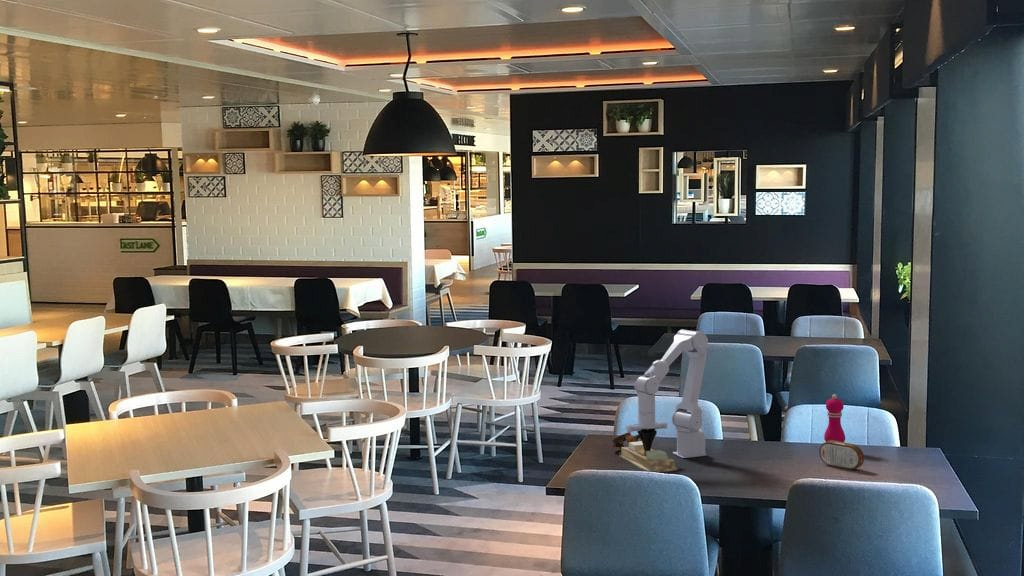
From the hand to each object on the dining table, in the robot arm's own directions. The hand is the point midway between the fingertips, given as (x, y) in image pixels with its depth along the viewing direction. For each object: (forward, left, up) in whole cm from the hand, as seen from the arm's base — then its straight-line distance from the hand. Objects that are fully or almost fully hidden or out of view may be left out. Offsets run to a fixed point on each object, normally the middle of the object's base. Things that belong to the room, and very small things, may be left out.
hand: (647, 450), depth 341 cm
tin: (-56, +30, -5) cm, 64 cm away
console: (0, 0, -4) cm, 4 cm away
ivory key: (0, -7, -1) cm, 7 cm away
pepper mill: (-69, +9, -5) cm, 70 cm away
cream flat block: (0, 0, -2) cm, 2 cm away
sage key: (0, +7, -1) cm, 7 cm away
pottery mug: (-2, -18, -5) cm, 18 cm away
